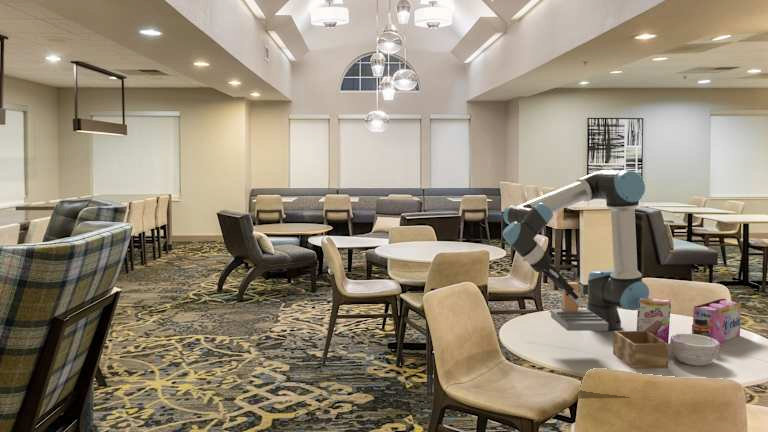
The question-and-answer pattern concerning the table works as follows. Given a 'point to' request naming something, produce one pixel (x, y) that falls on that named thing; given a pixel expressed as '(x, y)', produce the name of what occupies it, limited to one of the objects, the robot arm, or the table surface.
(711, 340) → the paper bowls
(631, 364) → the tub
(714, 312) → the gum box
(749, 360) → the table surface
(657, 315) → the candy bar box
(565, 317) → the grooved grey block
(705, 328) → the supplement bottle
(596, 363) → the table surface
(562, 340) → the table surface
